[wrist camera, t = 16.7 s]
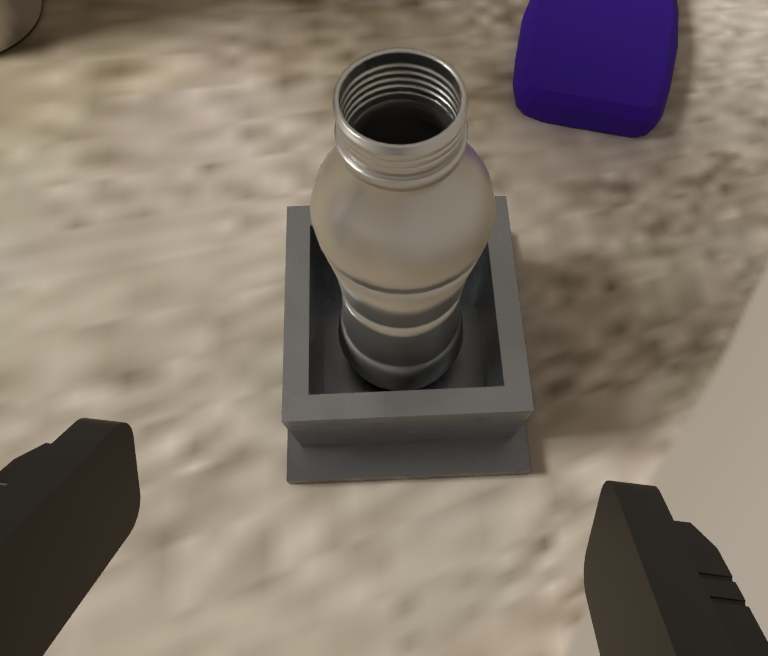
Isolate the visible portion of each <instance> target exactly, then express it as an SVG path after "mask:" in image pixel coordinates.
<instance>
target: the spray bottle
mask: <svg viewBox="0 0 768 656" xmlns="http://www.w3.org/2000/svg"><path fill="white" fill-rule="evenodd" d="M677 47H678V5H677V0H530V1H529V4H528V6H527V9H526V11H525V13H524V16H523V19H522V23H521V29H520V35H519V41H518V47H517V53H516V59H515V68H514V78H513V89H514V96H515V102H516V106H517V107H518V109H519V110H520V111H521V112H522V113H523V114H524V115H526V116H529V117H531V118H534V119H536V120H539V121H541V122H546V123H551V124H557V125H562V126H567V127H573V128H579V129H585V130H590V131H596V132H602V133H608V134H614V135H620V136H626V137H639V136H644V135H646V134H647V133H648V132H649V131H651V130H652V129H653V128H654V127H655V126H656V124H657V123H658V122H659V120H660V119H661V117H662V115H663V112H664V108H665V104H666V101H667V97H668V94H669V90H670V85H671V80H672V75H673V69H674V64H675V58H676V53H677Z"/></svg>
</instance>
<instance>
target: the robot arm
mask: <svg viewBox="0 0 768 656" xmlns="http://www.w3.org/2000/svg"><path fill="white" fill-rule="evenodd" d="M41 8H42V0H0V51H3V50H5V49H7V48H9V47H10V46H12V45H14V44H15V43H17V42H18V41H20V40H21V39H22V38H23V37H24V36H25V35H26V34H28V33H29V31H30V30H31V29H32V28H33V26H34V25H35V24H36V22H37V20H38V18H39V16H40V13H41ZM139 507H140V489H139V480H138V472H137V463H136V454H135V446H134V437H133V432H132V429H131V427H130V426H129V424H127V423H124V422H115V421H107V420H98V419H90V418H81V419H79V420H77V421H76V422H75V423H74V424H73V425H72V426H70V427H69V428H68V429H67V430H66V431H65V432H64V433H63V434H62V435H61V436H59V437H58V438H57V439H56V440H55V441H54V442H53V443H52V444H49V443H45V444H43V445H41V446H39V447H37V448H35V449H33V450H31V451H29V452H27V453H25V454H23V455H21V456H19V457H17V458H16V459H14V460H13V461H11V462H10V463H9V464H8V465H7V466H6V467H5V468H3V469H2V470H1V471H0V656H43V655H44V653H45V652H46V650H47V649H48V648H49V646H50V645H51V643H52V642H53V641H54V639H55V638H56V636H57V635H58V634H59V632H60V631H61V629H62V628H63V627H64V625H65V624H66V622H67V621H68V620H69V618H70V617H71V615H72V614H73V613H74V611H75V610H76V608H77V607H78V605H79V604H80V603H81V601H82V600H83V598H84V597H85V596H86V594H87V593H88V591H89V590H90V589H91V587H92V586H93V584H94V583H95V582H96V580H97V579H98V577H99V576H100V575H101V573H102V572H103V570H104V569H105V568H106V566H107V565H108V563H109V562H110V561H111V559H112V558H113V556H114V555H115V554H116V552H117V551H118V549H119V548H120V547H121V545H122V544H123V542H124V541H125V540H126V538H127V537H128V535H129V534H130V532H131V531H132V529H133V527H134V525H135V522H136V519H137V516H138V512H139ZM584 586H585V593H586V598H587V602H588V606H589V610H590V615H591V619H592V623H593V627H594V631H595V635H596V639H597V643H598V648H599V652H600V656H768V642H767V640H766V638H765V636H764V635H763V632H762V630H761V629H760V627H759V625H758V623H757V621H756V619H755V618H754V616H753V614H752V612H751V610H750V608H749V607H747V606H745V599H744V597H743V595H742V593H741V591H740V590H739V588H738V586H737V584H736V583H735V582H733V581H732V575H731V573H730V571H729V569H728V567H727V565H726V564H725V562H724V560H723V558H722V556H721V554H720V553H719V551H718V549H717V548H716V547H715V546H714V545H713V544H712V543H711V542H710V541H709V540H708V539H707V538H706V537H705V536H704V535H703V534H702V533H701V532H700V531H698V529H696V528H695V527H694V526H693V525H692V524H691V523H689V522H680V521H674V520H673V518H672V516H671V514H670V512H669V510H668V507H667V505H666V503H665V501H664V499H663V497H662V495H661V493H660V491H659V490H658V488H657V487H655V486H650V485H641V484H633V483H624V482H616V481H606V482H605V483H604V485H603V487H602V489H601V493H600V497H599V501H598V505H597V509H596V513H595V517H594V521H593V526H592V530H591V534H590V538H589V542H588V546H587V550H586V555H585V562H584Z"/></svg>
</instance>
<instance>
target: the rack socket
mask: <svg viewBox="0 0 768 656" xmlns="http://www.w3.org/2000/svg"><path fill="white" fill-rule="evenodd" d="M495 201H496V217H495V221H494V225H493V230H492V233H491V235H490V237H489V240H488V242H487V244H486V246H485V248H484V250H483V252H482V254H481V256H480V258H479V259H478V261H477V262H476V264H475V266H474V267H473V269H472V271H471V272H470V274H469V276H468V277H467V279H466V282H465V285H464V287H463V290H462V292H461V296H460V309H461V314H462V319H463V341H462V345H461V349H460V352H459V354H458V356H457V358H456V360H455V361H454V362H453V364H452V365H451V366H450V367H449V369H448V370H447V371H446V372H445V373H444V374H443V375H442V376H440V377H439V378H438V379H437V380H436V381H434V382H432V383H430V384H429V385H427V386H425V387H422V388H418V389H415V390H406V391H393V390H388V389H384V388H380V387H378V386H376V385H374V384H372V383H370V382H368V381H367V380H366V379H364V378H363V377H361V376H360V375H359V373H358V372H357V371H356V370H355V369H354V368H353V367H352V366H351V365H350V364H349V362H348V361H347V359H346V357H345V356H344V354H343V352H342V349H341V346H340V343H339V335H338V327H339V318H340V311H341V308H342V291H341V288H340V285H339V282H338V279H337V276H336V274H335V273H334V271H333V269H332V267H331V265H330V264H329V262H328V260H327V258H326V256H325V255H324V253H323V251H322V249H321V247H320V245H319V242H318V239H317V237H316V234H315V231H314V228H313V226H312V223H311V215H310V206H291V207H287V234H286V274H285V314H284V354H283V394H282V423H283V424H284V425H285V426H286V428H287V429H288V446H287V482H288V483H289V484H301V483H325V482H349V481H372V480H396V479H419V478H443V477H467V476H490V475H514V474H528V473H530V472H531V465H530V457H529V449H528V441H527V433H526V425H525V421H526V420H527V419H528V418H529V416H530V415H531V414H532V413H533V411H534V406H533V398H532V391H531V383H530V376H529V368H528V360H527V353H526V345H525V337H524V330H523V322H522V315H521V307H520V299H519V292H518V284H517V276H516V269H515V261H514V254H513V246H512V238H511V231H510V223H509V215H508V208H507V200H506V196H497V197H495Z"/></svg>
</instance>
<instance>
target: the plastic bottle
mask: <svg viewBox="0 0 768 656" xmlns="http://www.w3.org/2000/svg"><path fill="white" fill-rule="evenodd" d="M466 95H467V94H466V90H465V85H464V83H463V81H462V79H461V77H460V75H459V74H458V73H457V72H456V70H455V69H454V68H453V67H452V66H451V65H450V64H448V63H447V62H446V61H445V60H443V59H441V58H439V57H438V56H436V55H434V54H431V53H428V52H425V51H423V50H417V49H412V48H389V49H383V50H379V51H375V52H372V53H369V54H367V55H365V56H363V57H361V58H359V59H358V60H356V61H355V62H353V63H352V64H351V65H350V66H349V67H347V68H346V69H345V70H344V72H343V73H342V75H341V76H340V77H339V79H338V81H337V84H336V86H335V89H334V97H333V109H334V116H335V121H336V122H335V130H334V134H335V141H336V146H335V147H334V148H333V149H332V150H331V151H330V152H329V153H328V155H327V156H326V158H325V159H324V161H323V163H322V164H321V166H320V168H319V171H318V174H317V176H316V179H315V182H314V186H313V190H312V194H311V201H310V215H311V223H312V226H313V228H314V231H315V234H316V237H317V239H318V242H319V245H320V247H321V249H322V251H323V253H324V255H325V256H326V258H327V260H328V262H329V264H330V265H331V267H332V269H333V271H334V273H335V274H336V276H337V279H338V282H339V285H340V288H341V291H342V308H341V311H340V318H339V327H338V335H339V343H340V346H341V349H342V352H343V354H344V356H345V357H346V359H347V361H348V362H349V364H350V365H351V366H352V367H353V368H354V369H355V370H356V371H357V372H358V373H359V375H360V376H361V377H363V378H364V379H366V380H367V381H368V382H370V383H372V384H374V385H376V386H378V387H380V388H384V389H388V390H393V391H406V390H415V389H418V388H422V387H425V386H427V385H429V384H430V383H432V382H434V381H436V380H437V379H438V378H439V377H440V376H442V375H443V374H444V373H445V372H446V371H447V370H448V369H449V367H450V366H451V365H452V364H453V362H454V361H455V360H456V358H457V356H458V354H459V352H460V349H461V345H462V341H463V319H462V314H461V309H460V296H461V292H462V290H463V287H464V285H465V282H466V279H467V277H468V276H469V274H470V272H471V271H472V269H473V267H474V266H475V264H476V262H477V261H478V259H479V258H480V256H481V254H482V252H483V250H484V248H485V246H486V244H487V242H488V240H489V237H490V235H491V233H492V230H493V225H494V221H495V217H496V201H495V197H494V192H493V188H492V184H491V180H490V176H489V173H488V171H487V169H486V167H485V165H484V163H483V161H482V159H481V158H480V157H479V156H478V154H477V153H476V152H475V151H474V149H473V148H472V147H471V146H470V145H469V144H468V143H467V130H468V127H467V123H466V114H467V96H466Z"/></svg>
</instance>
